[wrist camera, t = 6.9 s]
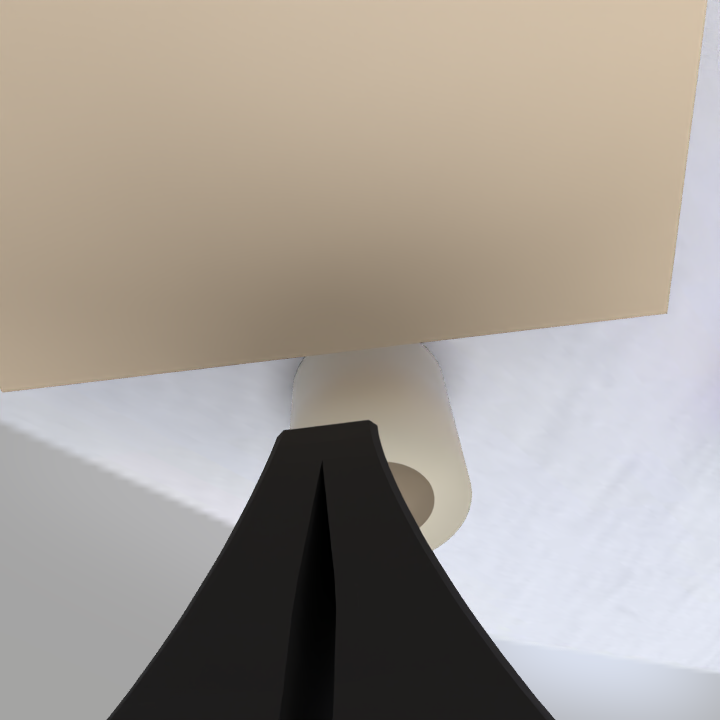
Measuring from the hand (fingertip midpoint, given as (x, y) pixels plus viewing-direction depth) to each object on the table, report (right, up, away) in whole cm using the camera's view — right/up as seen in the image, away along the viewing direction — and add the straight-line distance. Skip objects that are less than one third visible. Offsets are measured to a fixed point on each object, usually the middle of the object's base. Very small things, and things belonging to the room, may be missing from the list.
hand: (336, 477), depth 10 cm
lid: (-1, +8, +1) cm, 8 cm away
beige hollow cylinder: (+1, +1, +12) cm, 12 cm away
